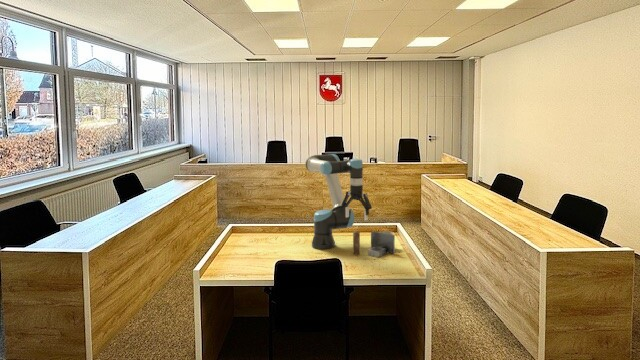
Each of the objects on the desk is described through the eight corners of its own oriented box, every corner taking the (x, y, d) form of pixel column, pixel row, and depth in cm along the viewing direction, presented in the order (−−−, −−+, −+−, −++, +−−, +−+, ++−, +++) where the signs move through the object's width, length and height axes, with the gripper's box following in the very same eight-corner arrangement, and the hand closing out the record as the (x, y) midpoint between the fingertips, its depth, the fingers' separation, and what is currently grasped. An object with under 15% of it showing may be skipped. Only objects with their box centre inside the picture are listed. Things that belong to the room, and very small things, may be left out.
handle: (352, 254, 329) (351, 232, 326) (355, 252, 332) (355, 230, 329) (357, 255, 326) (357, 233, 324) (361, 253, 329) (360, 231, 327)
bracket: (362, 253, 329) (362, 235, 327) (372, 249, 338) (372, 230, 336) (384, 258, 319) (384, 239, 317) (394, 253, 329) (394, 234, 326)
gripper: (335, 183, 326) (336, 217, 329) (370, 187, 311) (370, 222, 315) (342, 181, 331) (343, 214, 335) (377, 185, 317) (377, 220, 321)
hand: (356, 218), depth 325 cm, fingers open, 13 cm apart
